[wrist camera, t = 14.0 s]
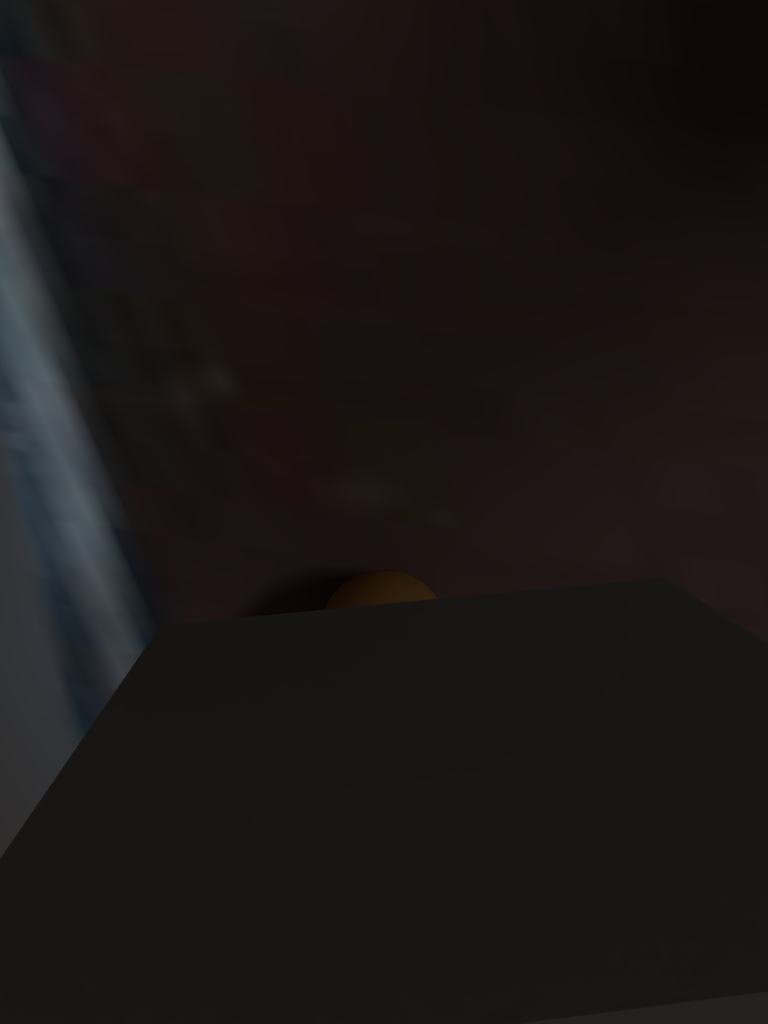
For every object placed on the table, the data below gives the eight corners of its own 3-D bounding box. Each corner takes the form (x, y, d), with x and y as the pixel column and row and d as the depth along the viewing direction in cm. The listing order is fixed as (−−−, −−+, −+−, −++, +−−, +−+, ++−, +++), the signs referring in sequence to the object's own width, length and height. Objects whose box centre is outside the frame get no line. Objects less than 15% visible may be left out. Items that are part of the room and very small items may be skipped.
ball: (321, 730, 25) (320, 625, 29) (451, 722, 26) (433, 619, 29) (316, 653, 22) (315, 545, 26) (465, 646, 22) (443, 540, 26)
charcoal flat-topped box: (161, 624, 13) (-173, 1112, 5) (664, 576, 14) (1218, 933, 5) (226, 1039, 15) (85, 1891, 7) (658, 984, 16) (1036, 1714, 7)
